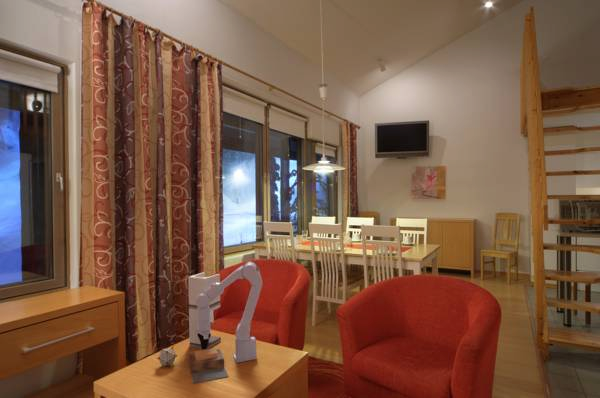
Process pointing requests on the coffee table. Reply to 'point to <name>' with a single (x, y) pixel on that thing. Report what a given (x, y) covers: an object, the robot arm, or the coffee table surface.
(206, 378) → the mat
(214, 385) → the coffee table surface
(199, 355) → the tan rectangular brick
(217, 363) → the brown flat block
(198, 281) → the tall white column
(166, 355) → the grey spiky polyhedron
